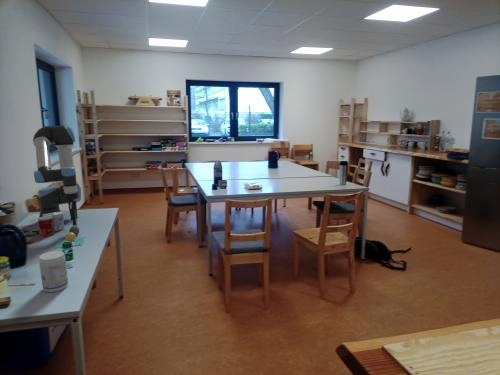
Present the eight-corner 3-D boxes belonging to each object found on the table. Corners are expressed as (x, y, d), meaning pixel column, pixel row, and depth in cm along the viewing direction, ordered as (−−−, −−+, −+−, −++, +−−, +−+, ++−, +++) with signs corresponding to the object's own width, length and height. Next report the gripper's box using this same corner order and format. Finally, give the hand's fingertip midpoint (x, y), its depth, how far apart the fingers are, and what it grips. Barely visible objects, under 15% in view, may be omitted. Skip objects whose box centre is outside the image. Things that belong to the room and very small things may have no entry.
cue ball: (68, 226, 213) (68, 236, 213) (78, 226, 215) (79, 235, 215) (69, 226, 219) (70, 235, 218) (79, 225, 220) (80, 234, 220)
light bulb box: (46, 233, 222) (44, 216, 220) (44, 230, 227) (41, 214, 225) (65, 229, 229) (63, 213, 227) (62, 227, 234) (60, 211, 232)
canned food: (48, 237, 214) (46, 219, 212) (37, 236, 216) (34, 219, 214) (58, 233, 222) (55, 216, 219) (46, 232, 223) (44, 215, 221)
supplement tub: (39, 288, 151) (34, 255, 148) (62, 280, 158) (58, 248, 155) (48, 295, 145) (43, 261, 142) (72, 286, 152) (68, 254, 149)
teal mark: (59, 240, 209) (59, 239, 209) (85, 237, 213) (85, 236, 213) (54, 248, 196) (54, 248, 196) (82, 245, 200) (81, 244, 200)
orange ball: (64, 231, 204) (63, 239, 201) (74, 229, 206) (74, 238, 203) (66, 235, 209) (66, 244, 205) (76, 234, 210) (76, 243, 207)
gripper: (66, 190, 222) (70, 226, 227) (62, 195, 210) (67, 233, 215) (79, 189, 224) (83, 225, 229) (76, 194, 212) (80, 231, 217)
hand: (75, 229), depth 222 cm, fingers closed
